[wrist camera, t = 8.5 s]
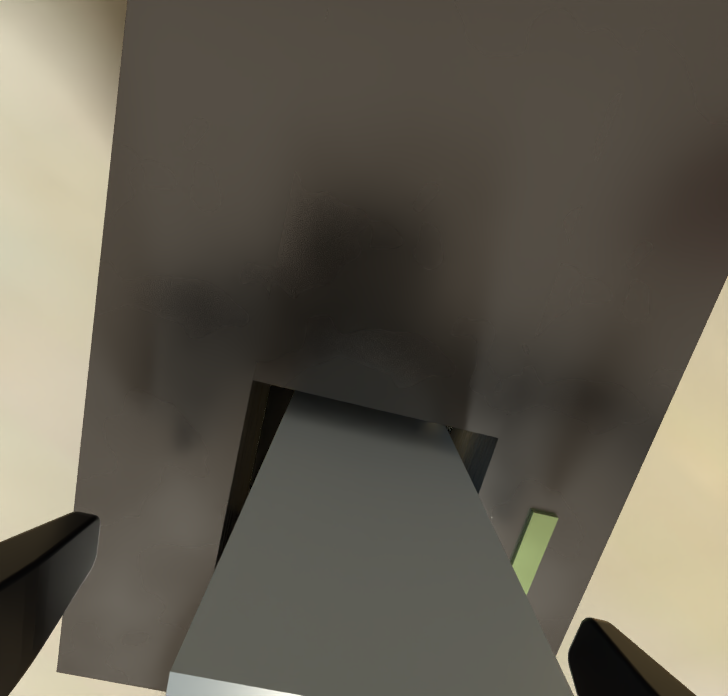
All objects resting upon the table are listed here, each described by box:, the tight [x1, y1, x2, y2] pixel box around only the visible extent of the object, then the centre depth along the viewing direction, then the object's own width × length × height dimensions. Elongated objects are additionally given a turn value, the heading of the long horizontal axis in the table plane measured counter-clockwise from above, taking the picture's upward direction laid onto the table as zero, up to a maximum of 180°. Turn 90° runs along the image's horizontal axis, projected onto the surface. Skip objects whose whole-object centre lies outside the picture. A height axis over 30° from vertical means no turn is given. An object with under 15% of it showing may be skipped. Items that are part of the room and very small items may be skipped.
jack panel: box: [57, 0, 728, 692], centre depth 9 cm, size 12×26×3 cm, turn 166°
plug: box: [166, 390, 574, 696], centre depth 8 cm, size 4×4×9 cm
